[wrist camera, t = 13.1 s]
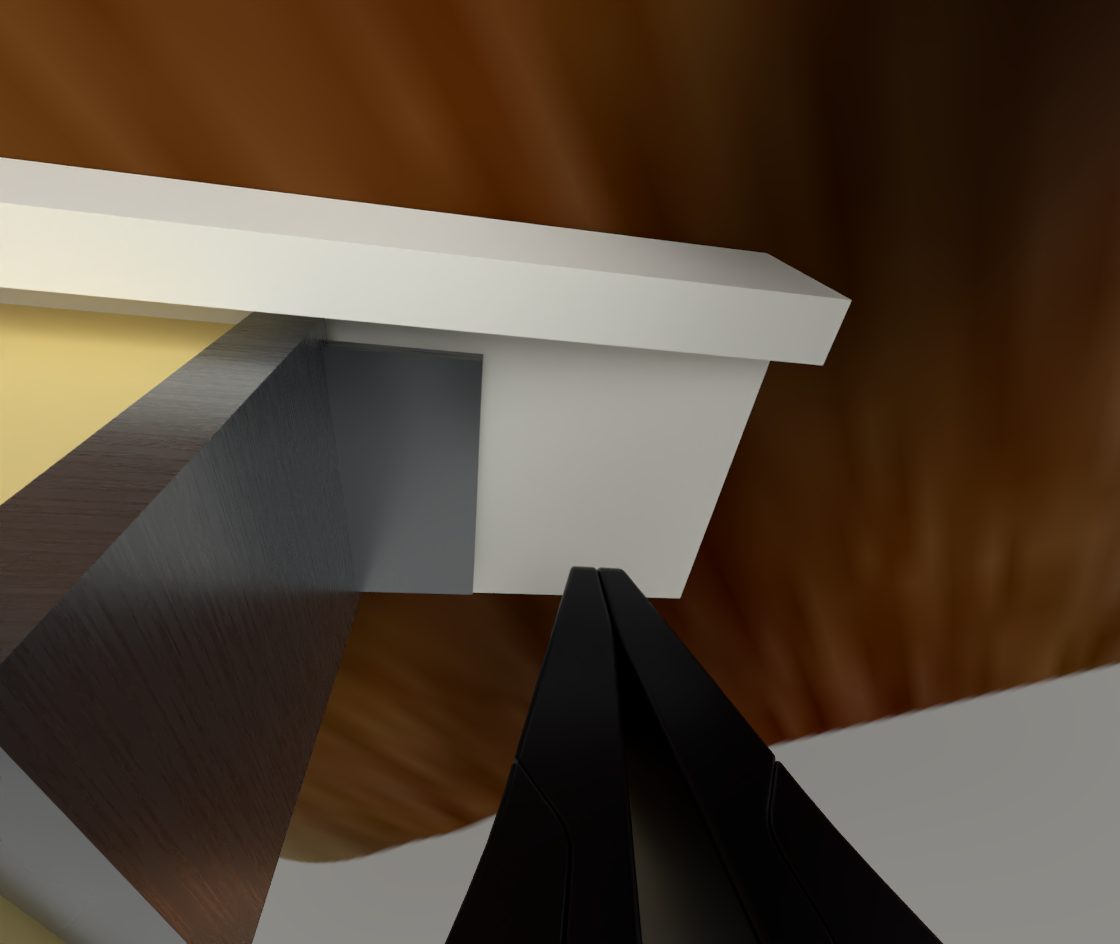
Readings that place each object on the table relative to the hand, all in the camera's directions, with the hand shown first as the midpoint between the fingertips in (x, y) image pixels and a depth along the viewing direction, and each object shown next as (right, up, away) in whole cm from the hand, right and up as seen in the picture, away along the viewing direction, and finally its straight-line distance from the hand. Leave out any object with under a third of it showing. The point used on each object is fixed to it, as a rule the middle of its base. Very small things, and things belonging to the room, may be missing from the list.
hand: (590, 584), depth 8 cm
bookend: (-4, +2, +2) cm, 5 cm away
